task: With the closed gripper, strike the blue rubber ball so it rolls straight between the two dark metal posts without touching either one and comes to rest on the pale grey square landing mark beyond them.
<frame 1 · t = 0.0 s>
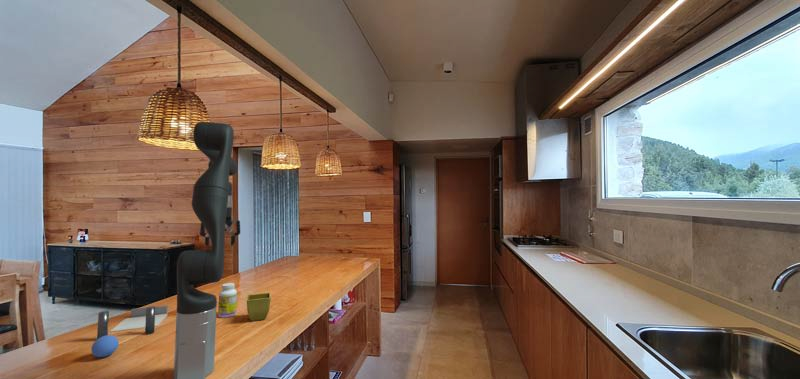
hand: (220, 245, 127), 29 cm above the table, tool pointing down, fingers open, 8 cm apart
ball: (105, 346, 94), on the table
supplement bottle: (227, 315, 130), on the table
right post: (149, 333, 111), on the table
left post: (102, 339, 106), on the table
flower pot: (258, 319, 126), on the table
landing mark: (141, 322, 121), on the table
stopper wall: (149, 314, 130), on the table
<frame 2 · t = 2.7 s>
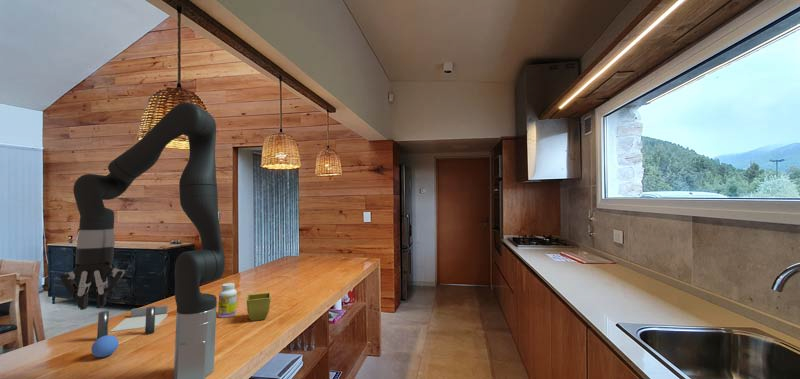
hand: (92, 307, 86), 17 cm above the table, tool pointing down, fingers open, 3 cm apart
nothing on the table moved.
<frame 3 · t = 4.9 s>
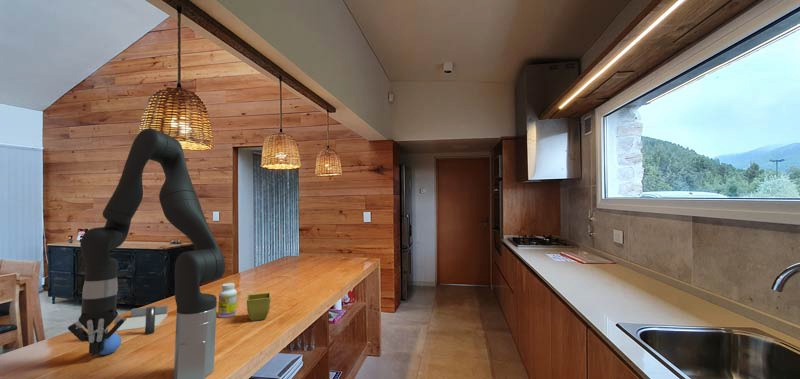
hand: (96, 353, 91), 2 cm above the table, tool pointing down, fingers closed
ball: (108, 343, 96), on the table, touching gripper
everything else where it was.
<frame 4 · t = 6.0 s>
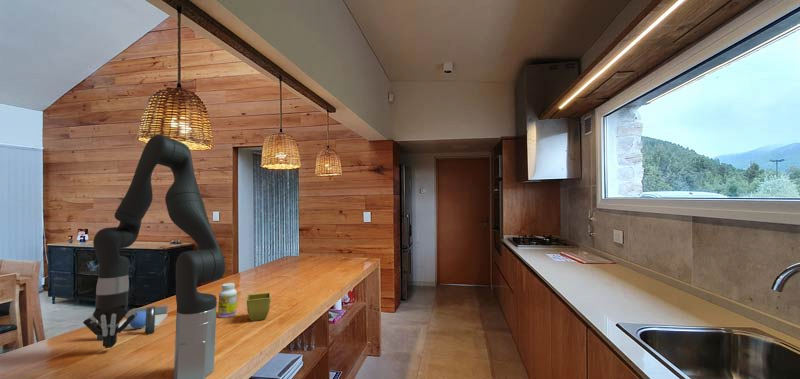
hand: (109, 346, 97), 2 cm above the table, tool pointing down, fingers closed
ball: (139, 319, 116), on the table
everything else where it was.
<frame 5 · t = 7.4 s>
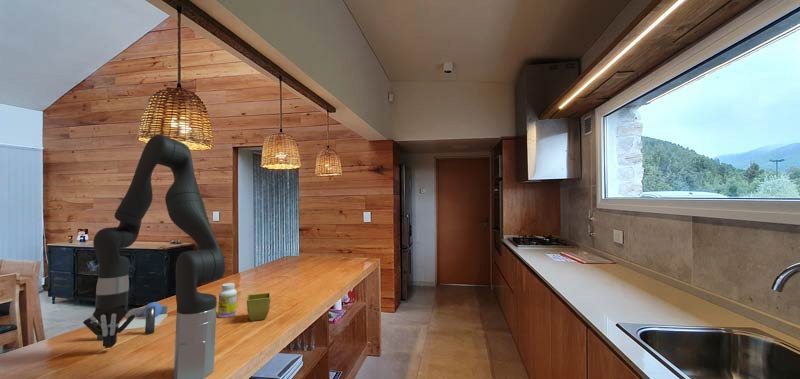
hand: (109, 346, 97), 2 cm above the table, tool pointing down, fingers closed
ball: (152, 309, 127), on the table
everything else where it was.
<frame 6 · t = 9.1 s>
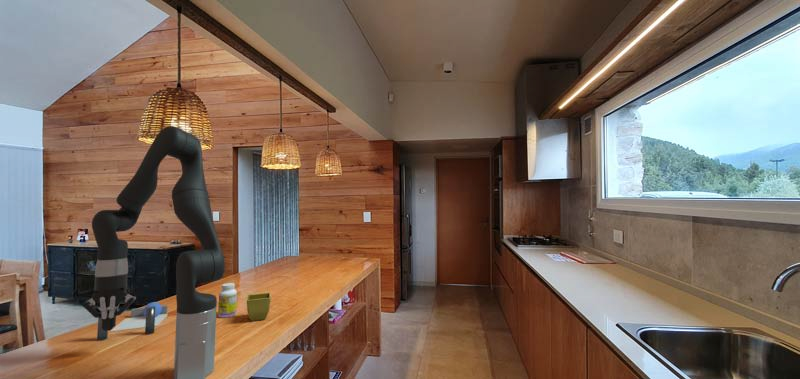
hand: (108, 329, 96), 7 cm above the table, tool pointing down, fingers closed
nothing on the table moved.
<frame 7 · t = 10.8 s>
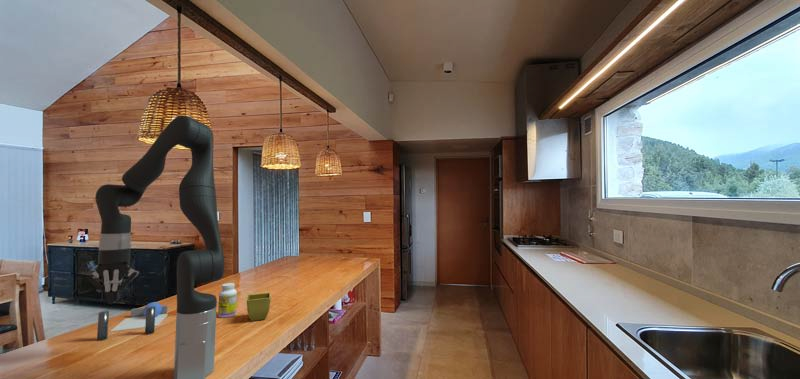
hand: (112, 302, 97), 15 cm above the table, tool pointing down, fingers closed
nothing on the table moved.
at the end: ball 5.7 cm from the landing mark (horizontally); ball never touched left post; ball never touched right post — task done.
